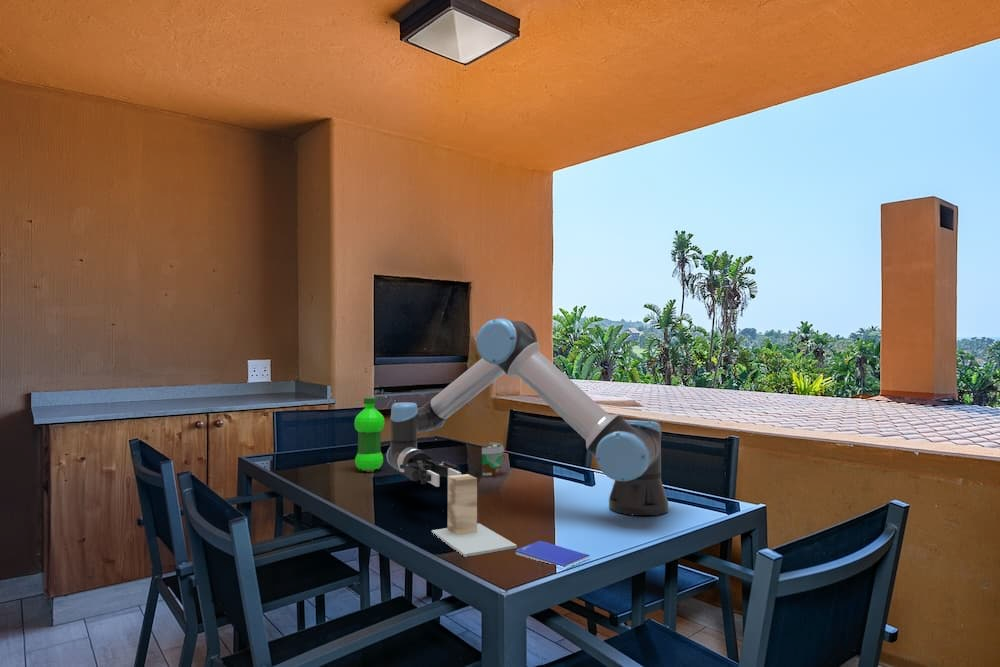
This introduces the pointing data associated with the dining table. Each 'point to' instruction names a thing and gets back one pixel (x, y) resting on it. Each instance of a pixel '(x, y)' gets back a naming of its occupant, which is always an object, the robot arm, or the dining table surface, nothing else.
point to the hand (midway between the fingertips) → (448, 479)
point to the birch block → (462, 504)
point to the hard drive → (550, 554)
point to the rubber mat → (475, 541)
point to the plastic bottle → (369, 436)
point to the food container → (492, 459)
